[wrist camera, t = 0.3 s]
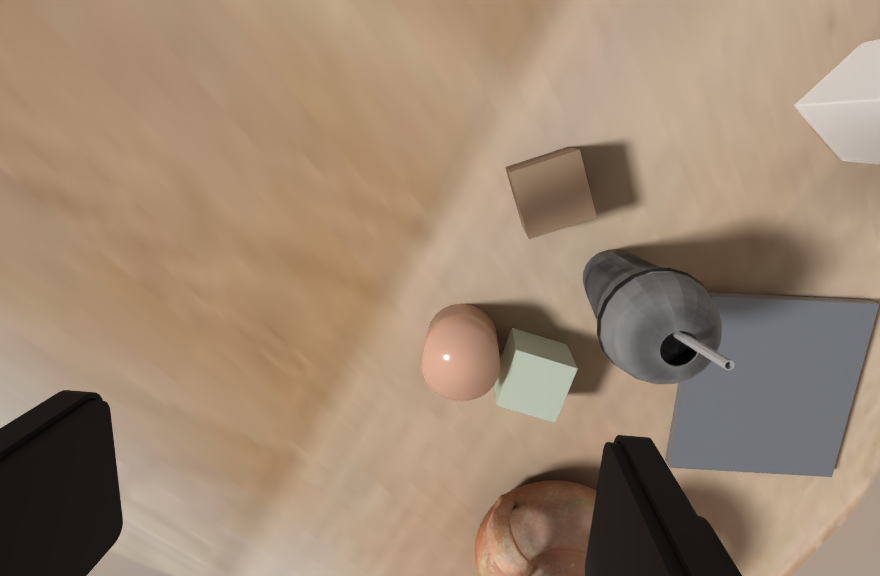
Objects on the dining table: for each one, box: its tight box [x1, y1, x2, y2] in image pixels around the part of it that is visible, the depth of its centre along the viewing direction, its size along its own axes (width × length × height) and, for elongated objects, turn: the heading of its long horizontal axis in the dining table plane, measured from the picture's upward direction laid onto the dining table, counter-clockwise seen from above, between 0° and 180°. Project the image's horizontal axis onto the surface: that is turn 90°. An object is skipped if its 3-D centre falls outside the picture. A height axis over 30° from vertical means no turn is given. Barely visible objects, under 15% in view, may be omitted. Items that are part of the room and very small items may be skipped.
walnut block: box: [505, 147, 597, 239], centre depth 41 cm, size 5×5×5 cm
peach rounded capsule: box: [422, 304, 500, 401], centre depth 44 cm, size 6×6×6 cm
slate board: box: [665, 292, 879, 477], centre depth 46 cm, size 16×14×1 cm
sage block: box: [494, 328, 578, 423], centre depth 45 cm, size 5×5×5 cm
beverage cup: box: [583, 250, 734, 384], centre depth 35 cm, size 7×7×20 cm
